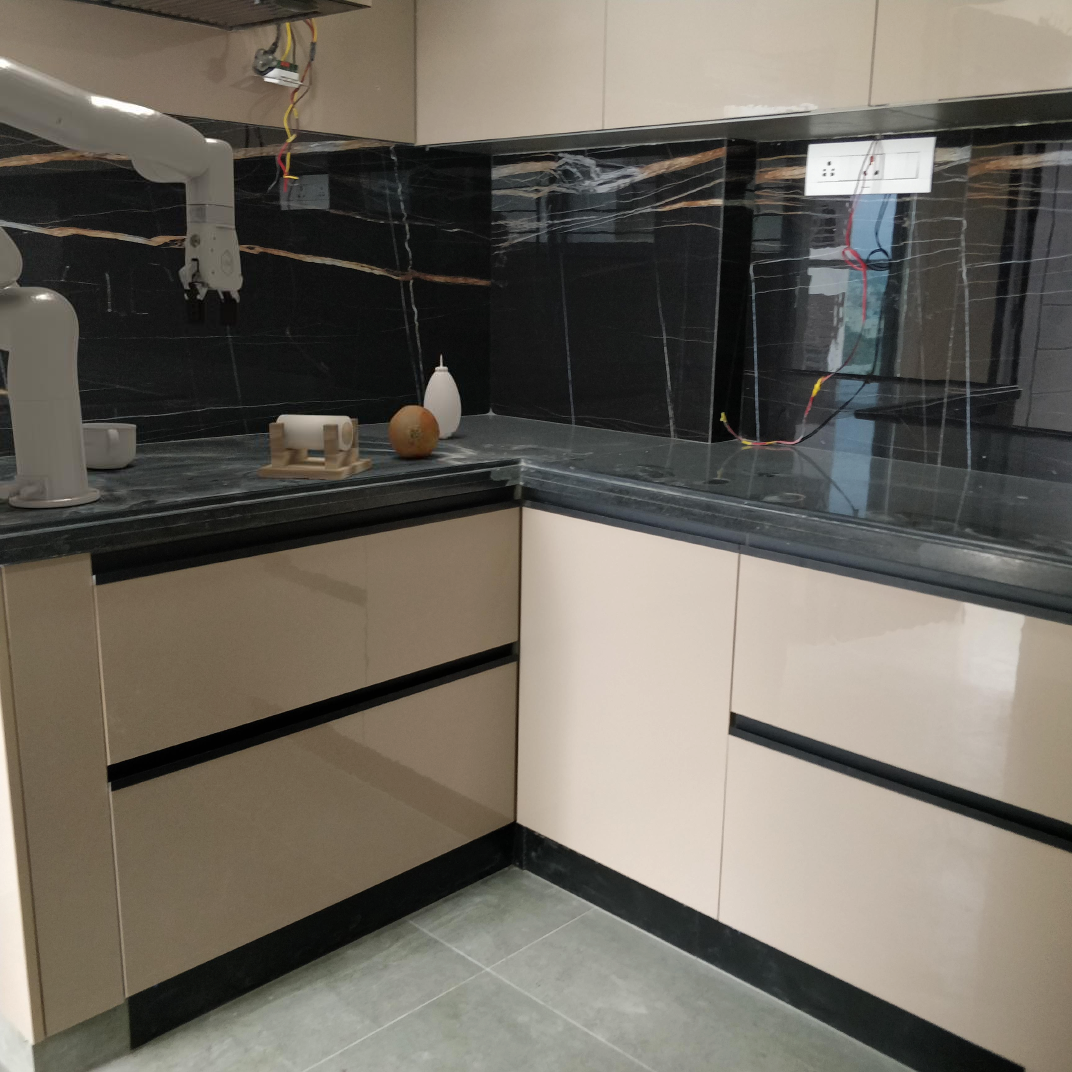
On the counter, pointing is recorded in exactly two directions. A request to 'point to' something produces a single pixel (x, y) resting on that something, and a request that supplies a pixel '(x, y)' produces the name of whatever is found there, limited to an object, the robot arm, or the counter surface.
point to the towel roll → (314, 431)
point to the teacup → (109, 444)
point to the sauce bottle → (443, 401)
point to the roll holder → (302, 466)
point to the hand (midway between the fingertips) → (213, 325)
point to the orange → (414, 432)
